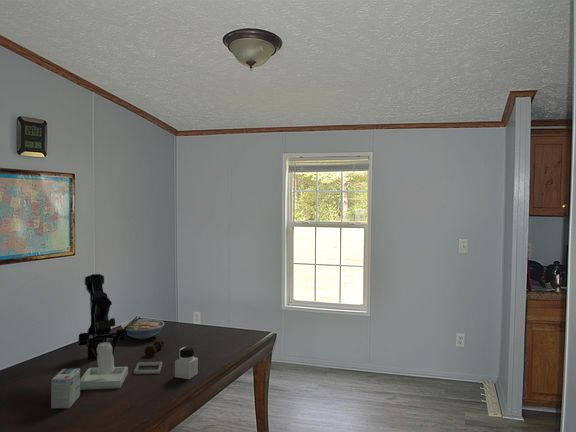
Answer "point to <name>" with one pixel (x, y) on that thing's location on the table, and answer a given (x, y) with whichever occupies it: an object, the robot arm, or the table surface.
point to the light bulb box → (65, 388)
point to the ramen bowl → (142, 328)
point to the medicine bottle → (186, 364)
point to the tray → (103, 379)
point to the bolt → (153, 348)
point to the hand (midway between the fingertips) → (104, 355)
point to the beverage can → (105, 358)
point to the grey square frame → (148, 370)
